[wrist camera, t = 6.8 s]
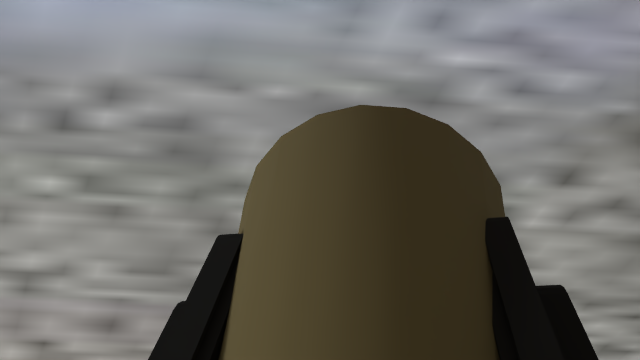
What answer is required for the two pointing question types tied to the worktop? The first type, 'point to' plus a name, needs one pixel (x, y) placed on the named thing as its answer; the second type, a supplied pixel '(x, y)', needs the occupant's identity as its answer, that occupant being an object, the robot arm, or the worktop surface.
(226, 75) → the worktop surface
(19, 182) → the worktop surface
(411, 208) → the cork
